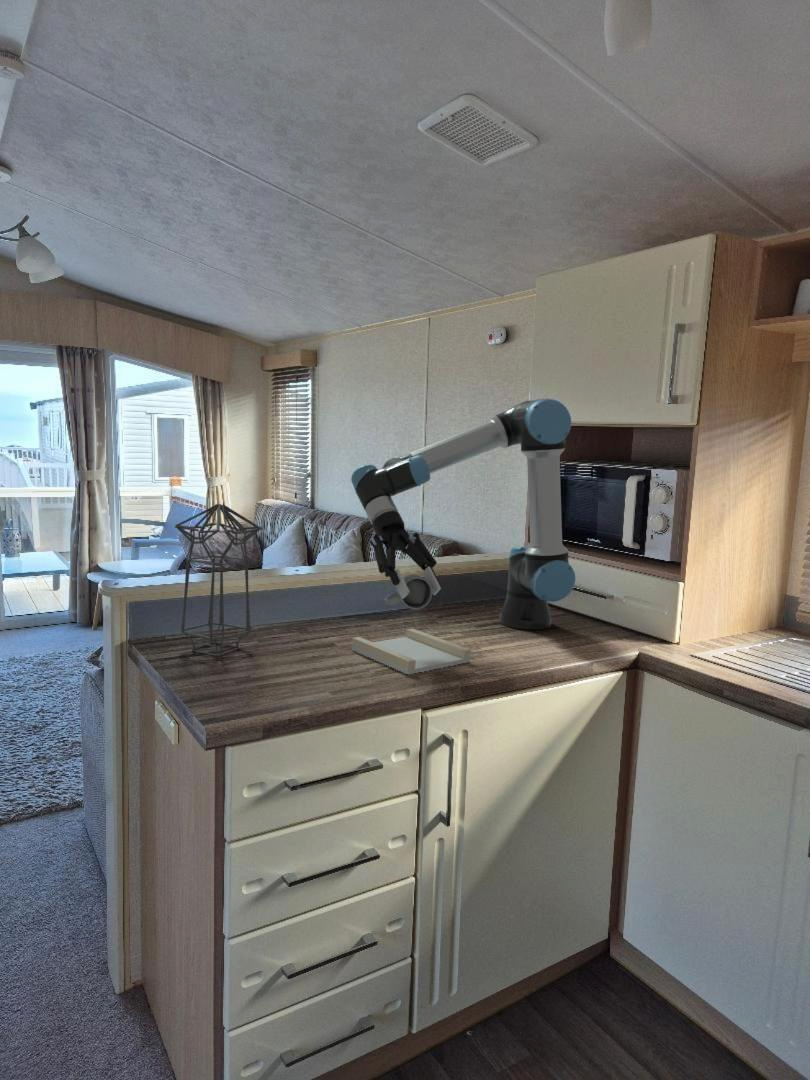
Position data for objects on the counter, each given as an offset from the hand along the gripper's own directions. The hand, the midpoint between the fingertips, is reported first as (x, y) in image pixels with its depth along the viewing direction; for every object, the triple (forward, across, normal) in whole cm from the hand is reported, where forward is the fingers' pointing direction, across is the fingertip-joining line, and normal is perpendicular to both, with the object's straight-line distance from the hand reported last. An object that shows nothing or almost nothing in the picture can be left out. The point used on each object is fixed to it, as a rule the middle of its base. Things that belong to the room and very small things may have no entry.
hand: (421, 593), depth 170 cm
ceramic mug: (0, +1, -6) cm, 6 cm away
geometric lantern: (-10, +37, -34) cm, 51 cm away
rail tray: (+9, 0, -13) cm, 16 cm away
